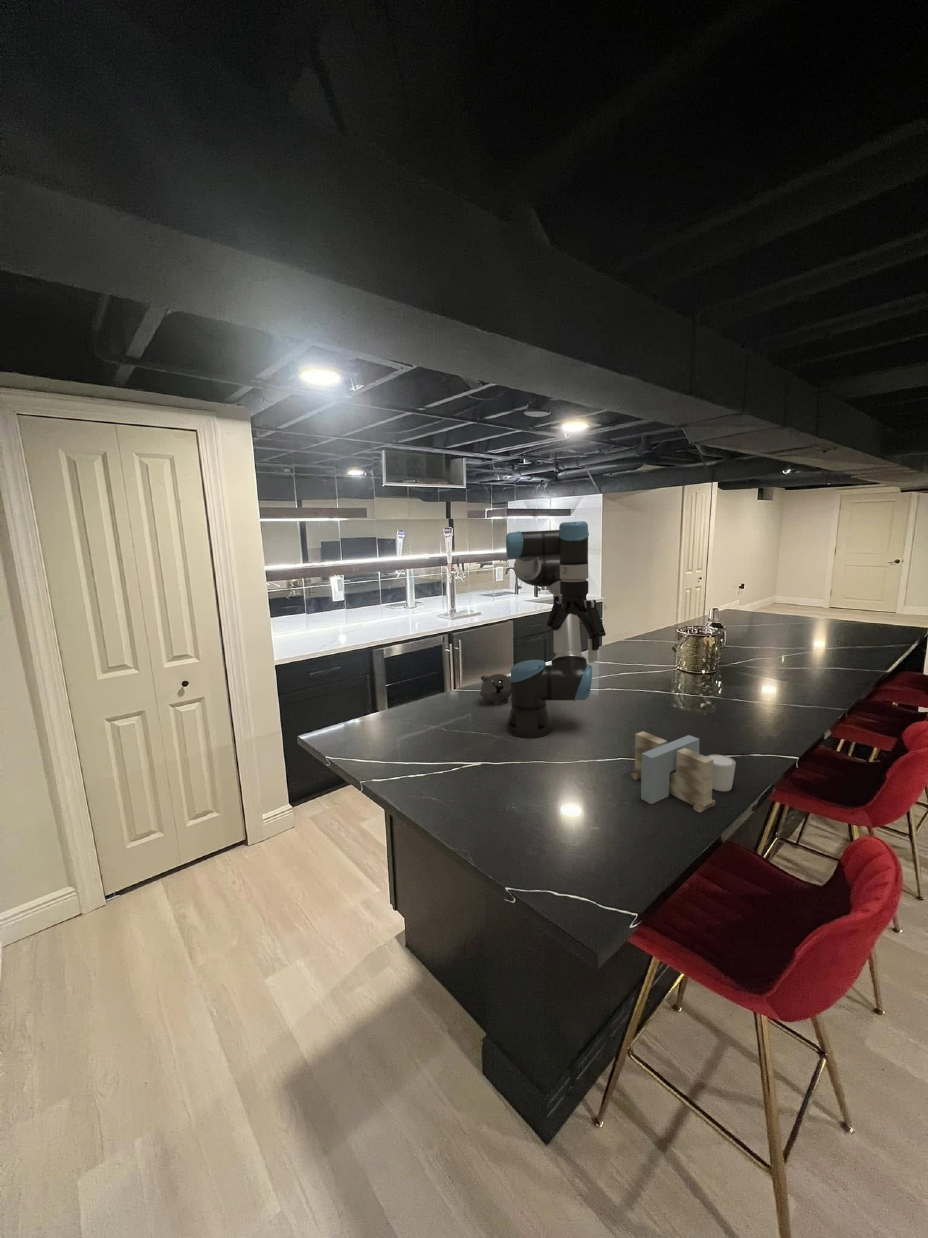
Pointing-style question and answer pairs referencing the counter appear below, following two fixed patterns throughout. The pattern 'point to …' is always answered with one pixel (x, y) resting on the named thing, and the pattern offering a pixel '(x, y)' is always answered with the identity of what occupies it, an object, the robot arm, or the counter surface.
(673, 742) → the slotted plate
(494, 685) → the grey teddy bear
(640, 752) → the slotted stand
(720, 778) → the white cylinder
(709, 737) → the counter surface
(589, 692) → the robot arm
